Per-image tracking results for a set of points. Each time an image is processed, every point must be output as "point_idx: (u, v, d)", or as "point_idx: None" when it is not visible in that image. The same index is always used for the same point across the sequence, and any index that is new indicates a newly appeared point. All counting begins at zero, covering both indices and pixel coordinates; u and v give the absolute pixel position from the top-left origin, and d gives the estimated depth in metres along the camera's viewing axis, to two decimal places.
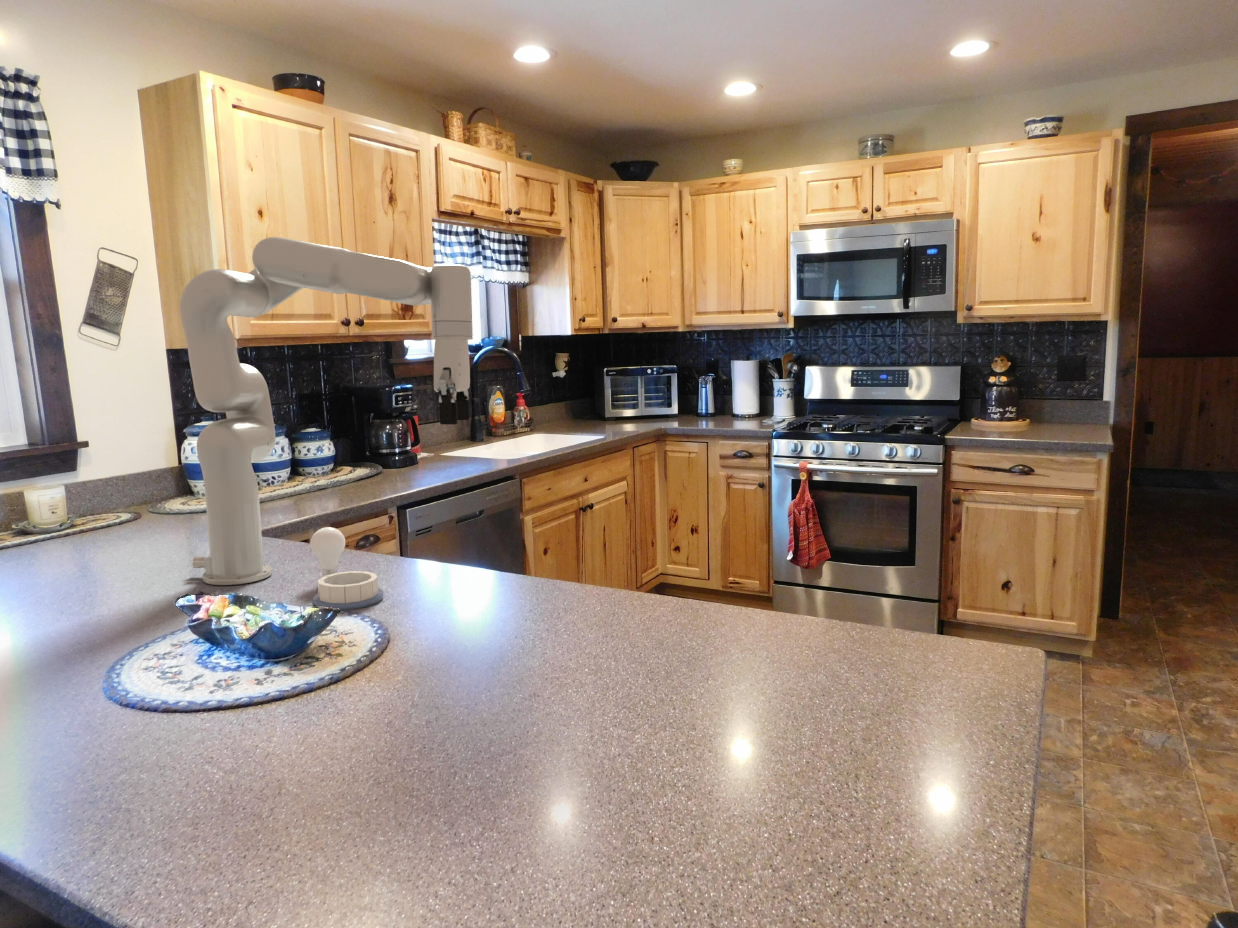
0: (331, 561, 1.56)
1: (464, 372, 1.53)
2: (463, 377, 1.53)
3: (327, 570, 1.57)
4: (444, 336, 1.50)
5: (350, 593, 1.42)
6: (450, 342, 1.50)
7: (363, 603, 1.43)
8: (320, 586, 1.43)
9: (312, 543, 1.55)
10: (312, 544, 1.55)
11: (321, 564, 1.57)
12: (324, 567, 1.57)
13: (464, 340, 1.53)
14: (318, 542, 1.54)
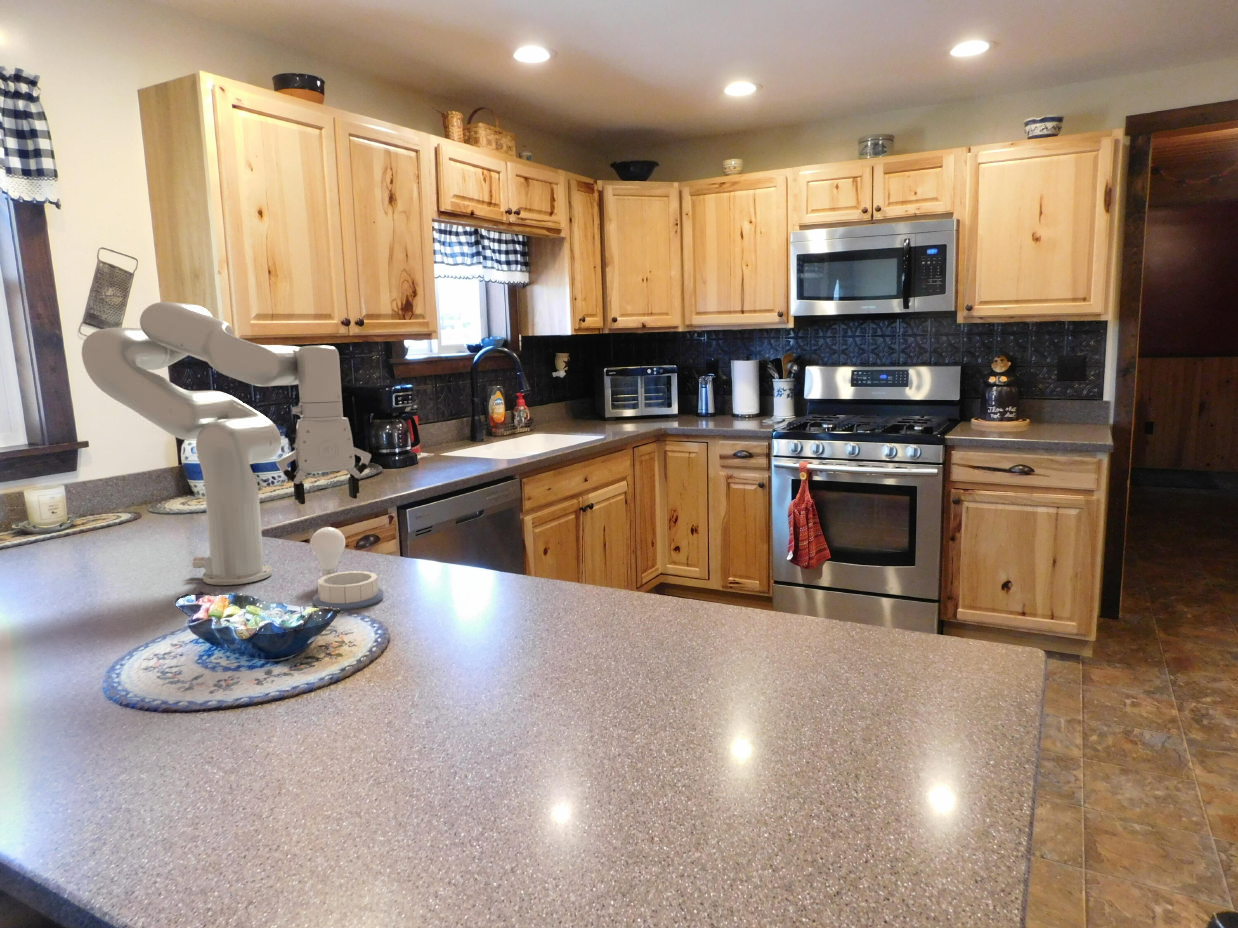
0: (331, 561, 1.56)
1: None
2: None
3: (327, 570, 1.57)
4: (342, 415, 1.56)
5: (350, 593, 1.42)
6: None
7: (363, 603, 1.43)
8: (320, 586, 1.43)
9: (312, 543, 1.55)
10: (312, 544, 1.55)
11: (321, 564, 1.57)
12: (324, 567, 1.57)
13: None
14: (318, 542, 1.54)
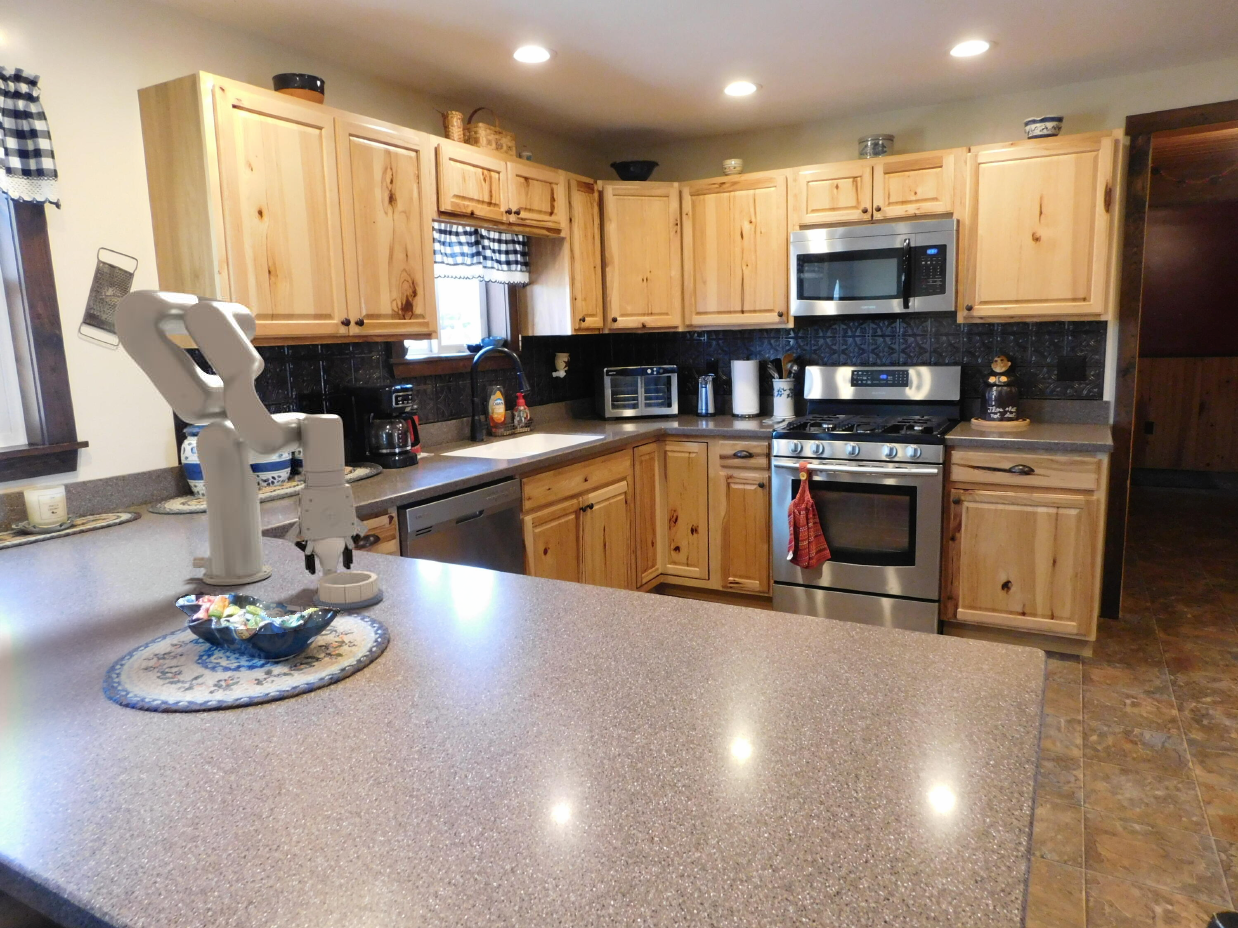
0: (331, 561, 1.56)
1: None
2: None
3: (327, 570, 1.57)
4: (345, 482, 1.57)
5: (350, 593, 1.42)
6: None
7: (363, 603, 1.43)
8: (320, 586, 1.43)
9: None
10: None
11: (321, 564, 1.57)
12: (324, 567, 1.57)
13: None
14: (318, 542, 1.54)
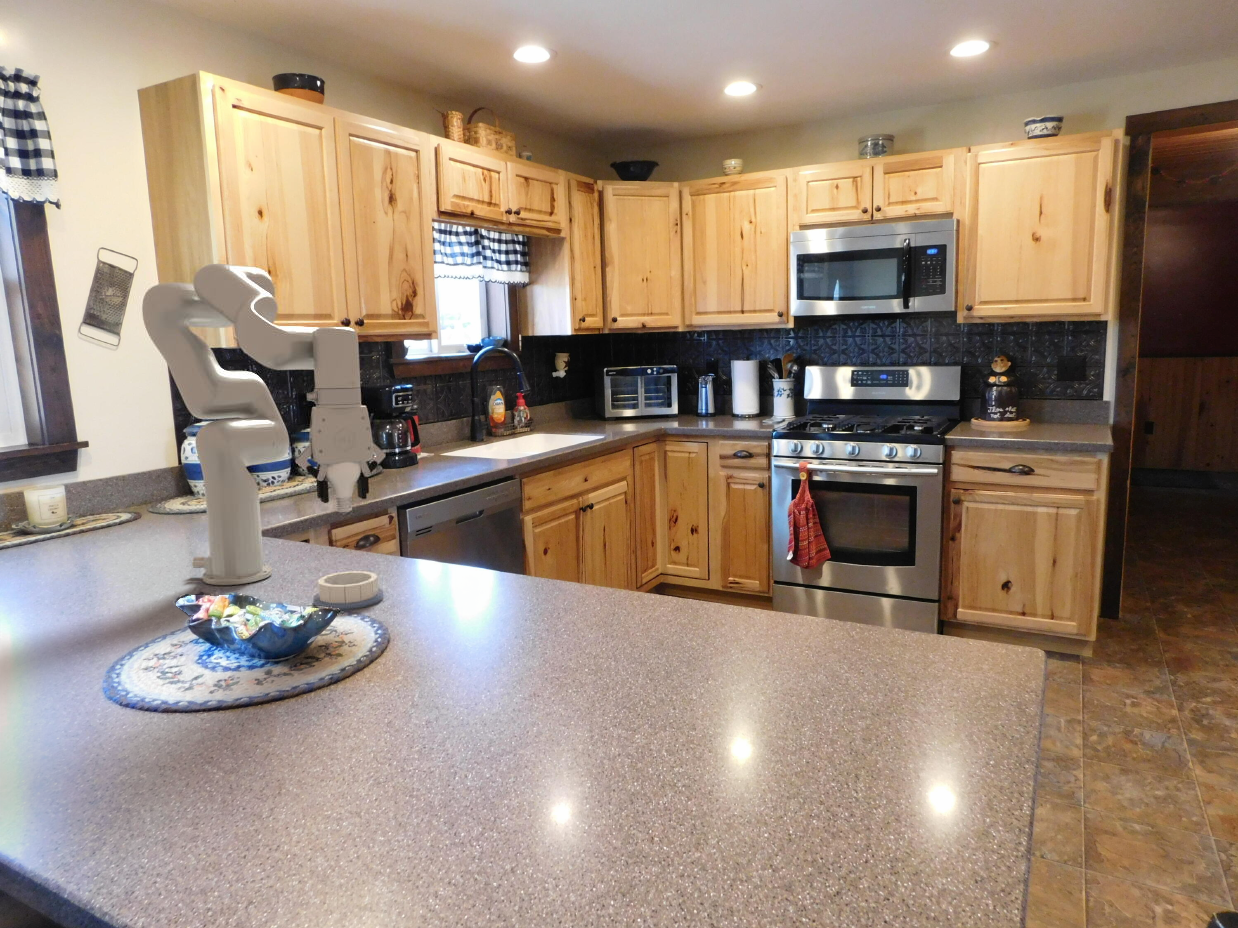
0: (346, 489, 1.43)
1: None
2: None
3: (341, 498, 1.44)
4: None
5: (350, 593, 1.42)
6: None
7: (363, 603, 1.43)
8: (320, 586, 1.43)
9: None
10: None
11: (335, 492, 1.43)
12: (338, 495, 1.43)
13: None
14: (332, 467, 1.41)
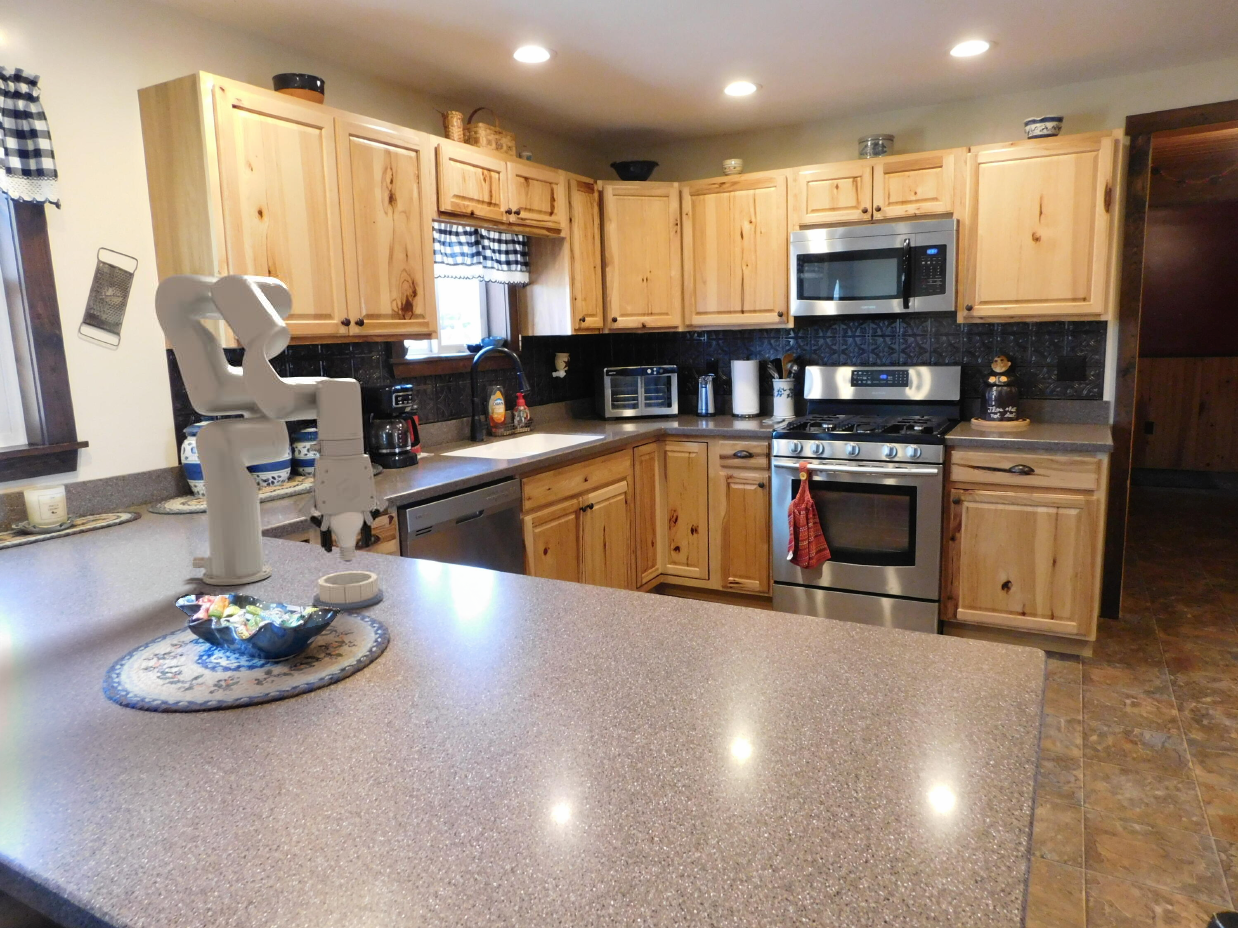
0: (349, 538, 1.44)
1: None
2: None
3: (344, 547, 1.44)
4: None
5: (350, 593, 1.42)
6: None
7: (363, 603, 1.43)
8: (320, 586, 1.43)
9: None
10: None
11: (338, 541, 1.44)
12: (341, 544, 1.44)
13: None
14: (335, 517, 1.42)
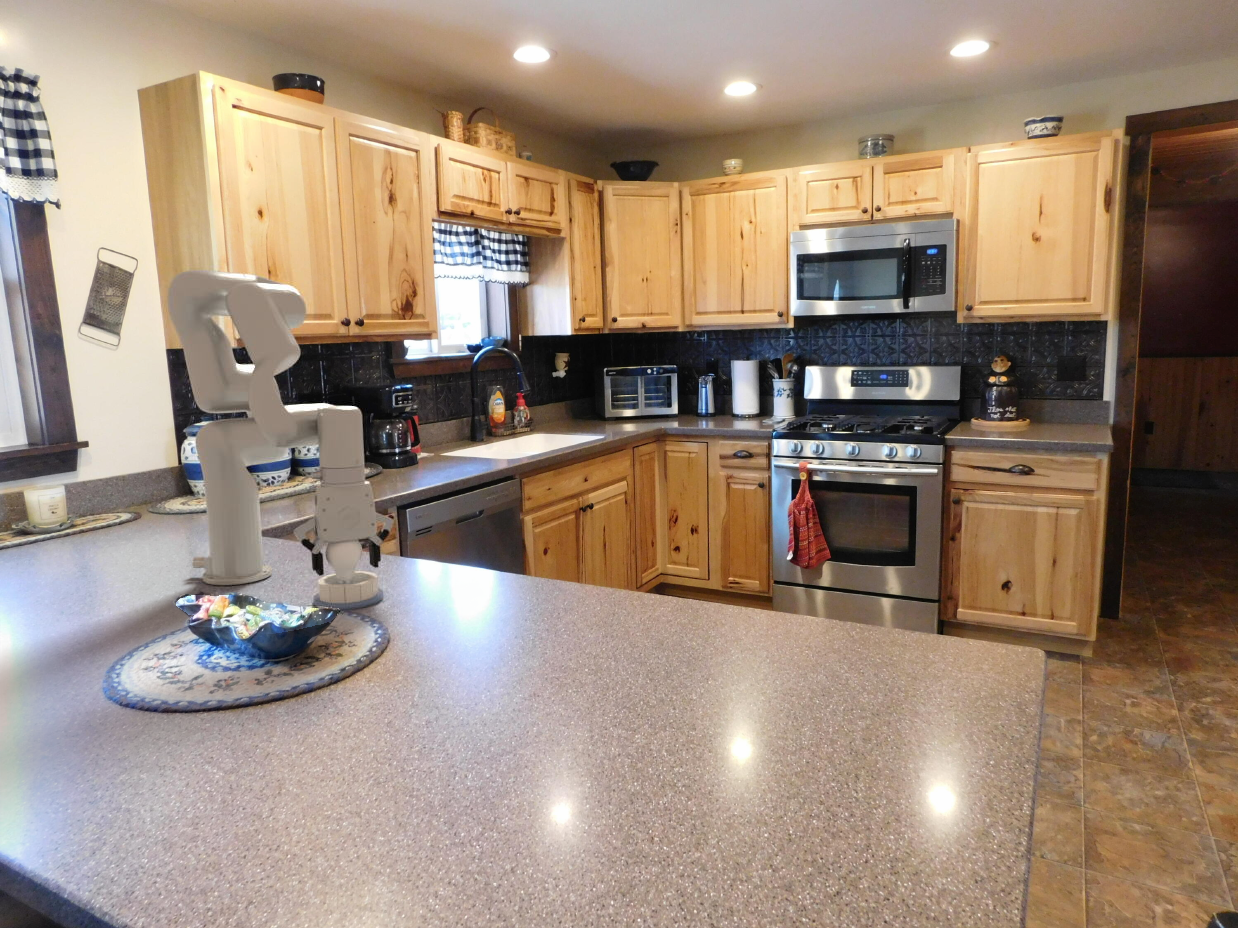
0: (347, 572, 1.45)
1: None
2: None
3: (343, 581, 1.45)
4: None
5: (350, 593, 1.42)
6: None
7: (363, 603, 1.43)
8: (320, 586, 1.43)
9: (327, 553, 1.43)
10: (327, 554, 1.43)
11: (337, 575, 1.45)
12: (340, 578, 1.45)
13: None
14: (333, 552, 1.43)
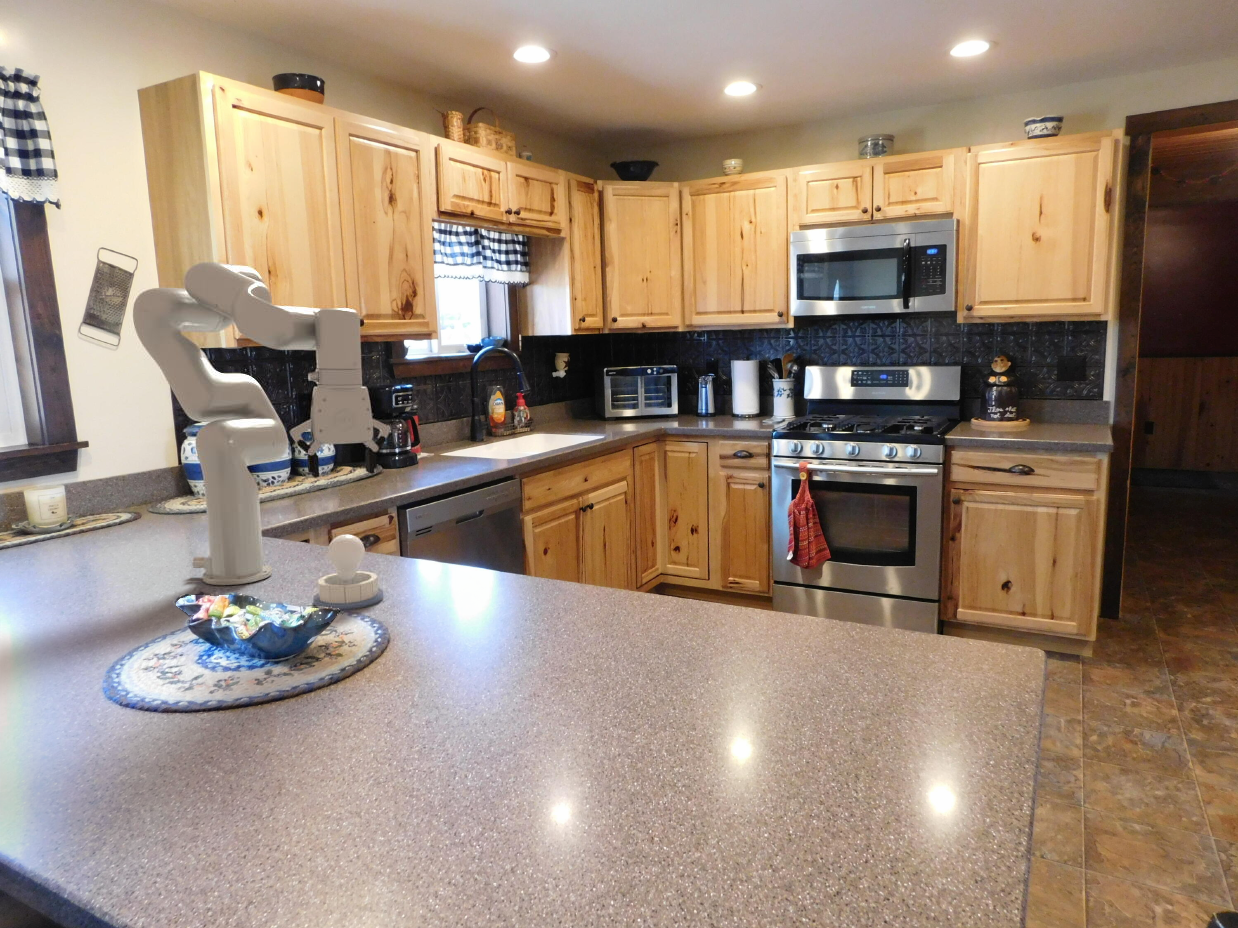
0: (349, 571, 1.45)
1: None
2: None
3: (344, 580, 1.45)
4: None
5: (350, 593, 1.42)
6: None
7: (363, 603, 1.43)
8: (320, 586, 1.43)
9: (329, 551, 1.44)
10: (329, 552, 1.44)
11: (338, 574, 1.45)
12: (341, 577, 1.45)
13: None
14: (336, 550, 1.43)
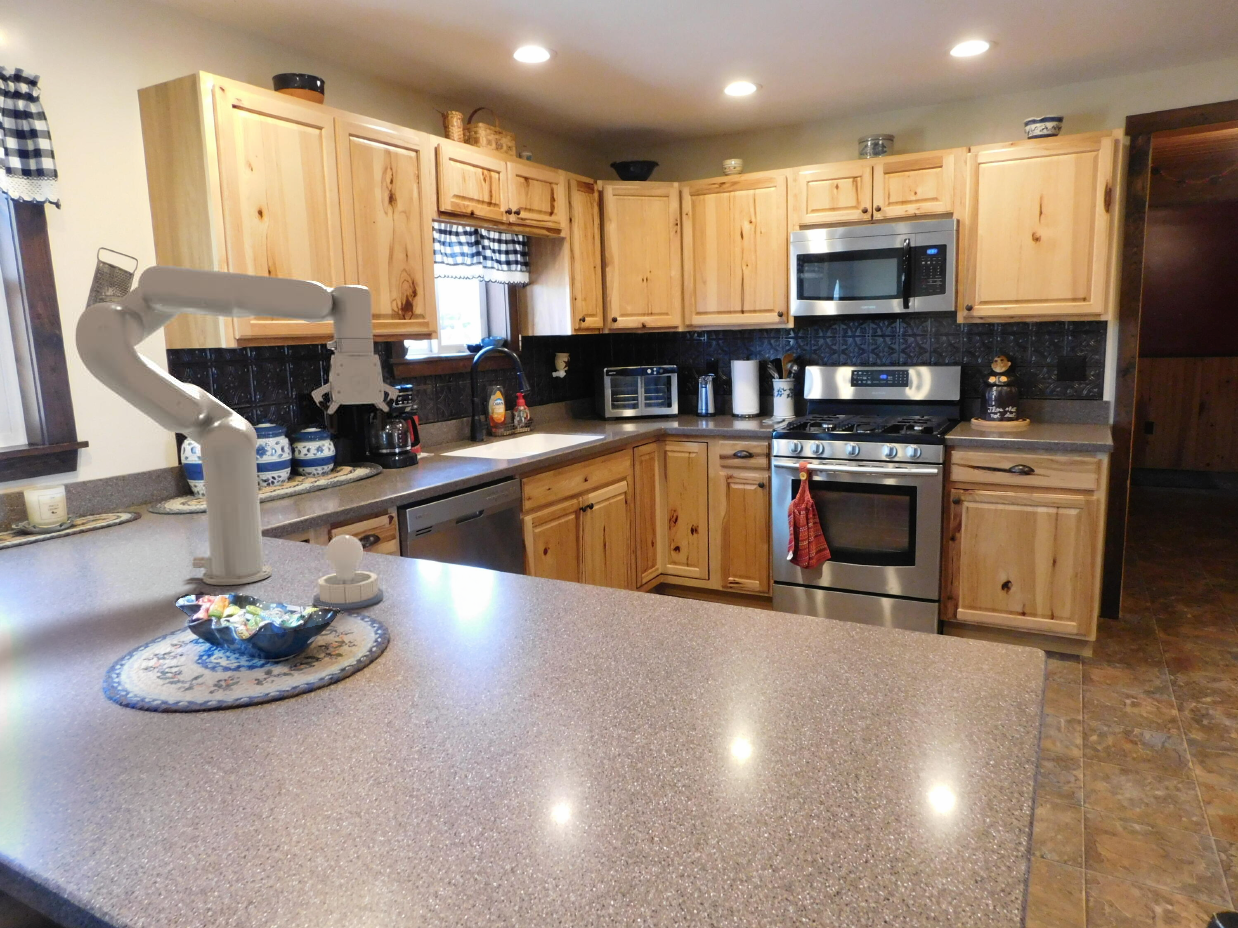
0: (348, 572, 1.45)
1: None
2: None
3: (343, 581, 1.45)
4: None
5: (350, 593, 1.42)
6: None
7: (363, 603, 1.43)
8: (320, 586, 1.43)
9: (327, 552, 1.44)
10: (327, 553, 1.44)
11: (337, 575, 1.45)
12: (340, 578, 1.45)
13: None
14: (334, 551, 1.43)
